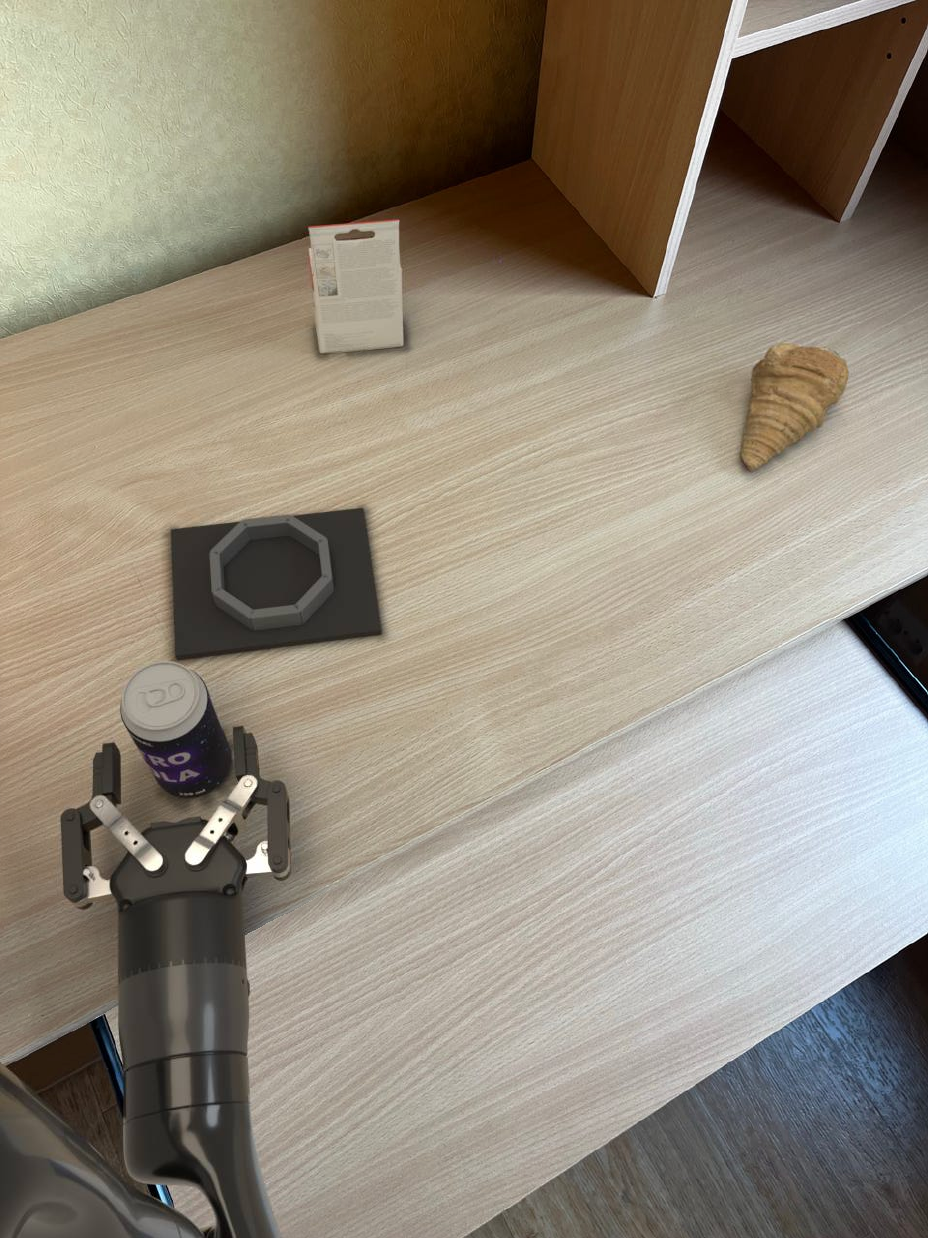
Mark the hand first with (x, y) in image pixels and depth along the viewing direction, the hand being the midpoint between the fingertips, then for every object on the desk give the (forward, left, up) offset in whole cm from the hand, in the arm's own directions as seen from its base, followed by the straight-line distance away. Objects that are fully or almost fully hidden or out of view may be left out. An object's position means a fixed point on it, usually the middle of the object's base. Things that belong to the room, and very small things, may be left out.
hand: (175, 738), depth 72 cm
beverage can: (0, +1, -7) cm, 7 cm away
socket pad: (+7, +16, -7) cm, 19 cm away
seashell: (+54, +27, -7) cm, 61 cm away
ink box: (+17, +42, -7) cm, 46 cm away
